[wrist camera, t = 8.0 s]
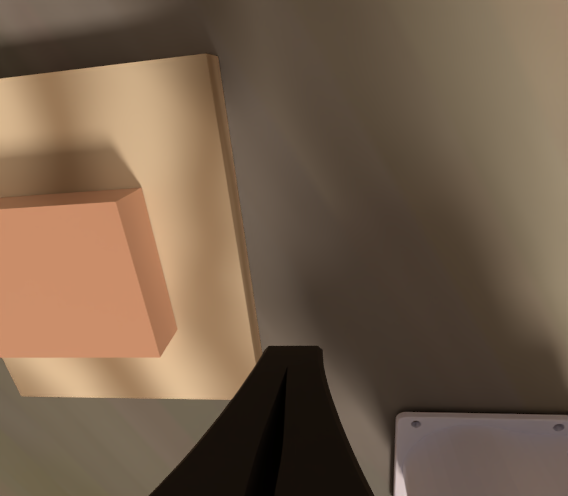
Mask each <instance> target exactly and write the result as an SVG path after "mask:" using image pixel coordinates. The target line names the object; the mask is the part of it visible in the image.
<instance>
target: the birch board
mask: <svg viewBox="0 0 568 496" xmlns="http://www.w3.org/2000/svg"><path fill="white" fill-rule="evenodd" d="M128 188H142V191H143V195H144V199H145V203H146V207H147V211H148V215H149V219H150V223H151V227H152V231H153V235H154V238H155V242H156V246H157V250H158V254H159V258H160V262H161V266H162V270H163V274H164V278H165V282H166V286H167V290H168V294H169V298H170V302H171V306H172V310H173V313H174V317H175V321H176V325H177V329H178V330H177V331H176V333H175V335H174V336H173V338H172V339H171V341H170V343H169V344H168V346H167V347H166V349H165V351H164V352H163V354H162V356H161V357H160V358H3V360H4V362H5V364H6V366H7V368H8V370H9V372H10V374H11V376H12V378H13V380H14V382H15V384H16V386H17V388H18V390H19V392H20V394H21V396H33V397H97V398H162V399H226V400H232V398H233V397H234V395H235V394H236V393H237V391H238V390H239V389H240V387H241V386H242V384H243V383H244V381H245V380H246V379H247V377H248V376H249V374H250V373H251V371H252V370H253V368H254V367H255V365H256V363H257V362H258V360H259V359H260V357H261V355H262V349H261V342H260V335H259V328H258V322H257V315H256V308H255V301H254V295H253V288H252V281H251V275H250V268H249V261H248V254H247V248H246V241H245V234H244V227H243V221H242V214H241V207H240V200H239V194H238V187H237V180H236V173H235V167H234V160H233V153H232V146H231V140H230V133H229V126H228V120H227V113H226V106H225V99H224V93H223V86H222V79H221V72H220V66H219V59H218V56H214V55H210V54H207V53H205V54H197V55H189V56H181V57H173V58H165V59H156V60H148V61H140V62H132V63H124V64H116V65H108V66H99V67H91V68H83V69H75V70H67V71H59V72H50V73H42V74H34V75H26V76H18V77H10V78H2V79H0V198H1V197H15V196H29V195H44V194H58V193H72V192H86V191H100V190H114V189H128Z"/></svg>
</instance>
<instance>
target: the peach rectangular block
mask: <svg viewBox="0 0 568 496" xmlns="http://www.w3.org/2000/svg"><path fill="white" fill-rule="evenodd" d="M177 330H178V329H177V325H176V321H175V317H174V313H173V310H172V306H171V302H170V298H169V294H168V290H167V286H166V282H165V278H164V274H163V270H162V266H161V262H160V258H159V254H158V250H157V246H156V242H155V238H154V235H153V231H152V227H151V223H150V219H149V215H148V211H147V207H146V203H145V199H144V195H143V191H142V188H128V189H114V190H100V191H86V192H72V193H58V194H44V195H29V196H15V197H1V198H0V358H160V357H161V356H162V354H163V352H164V351H165V349H166V347H167V346H168V344H169V343H170V341H171V339H172V338H173V336H174V335H175V333H176V331H177Z"/></svg>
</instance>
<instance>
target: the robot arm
mask: <svg viewBox="0 0 568 496" xmlns="http://www.w3.org/2000/svg"><path fill="white" fill-rule="evenodd" d="M413 421H416V422H413ZM149 496H374V494H373V492H372V490H371V488H370V486H369V484H368V482H367V480H366V478H365V476H364V474H363V472H362V470H361V468H360V466H359V464H358V461H357V459H356V457H355V455H354V453H353V450H352V448H351V446H350V443H349V441H348V439H347V436H346V434H345V432H344V429H343V427H342V424H341V422H340V419H339V416H338V413H337V411H336V408H335V405H334V402H333V399H332V396H331V393H330V390H329V387H328V383H327V379H326V375H325V371H324V365H323V350H322V349H321V348H320V347H319V346H268V347H267V348H266V349H265V351H264V352H263V354H262V355H261V357H260V359H259V360H258V362H257V363H256V365H255V367H254V368H253V370H252V371H251V373H250V374H249V376H248V377H247V379H246V380H245V381H244V383H243V384H242V386H241V387H240V389H239V390H238V391H237V393H236V394H235V395H234V397H233V398H232V400H231V401H230V402H229V404H228V405H227V406H226V408H225V409H224V410H223V412H222V413H221V414H220V416H219V417H218V418H217V419H216V421H215V422H214V423H213V424H212V426H211V427H210V428H209V429H208V430H207V432H206V433H205V434H204V435H203V437H202V438H201V439H200V440H199V442H198V443H197V444H196V445H195V446H194V448H193V449H192V450H191V451H190V452H189V453H188V454H187V455H186V457H185V458H184V459H183V460H182V461H181V462H180V463H179V464H178V466H177V467H176V468H175V469H174V470H173V471H172V472H171V473H170V474H169V475H168V476H167V477H166V478H165V479H164V480H163V482H162V483H161V484H160V485H159V486H158V487H157V488H156V489H155V490H154V491H153V492H152V493H151V494H150V495H149ZM393 496H568V415H542V414H490V413H437V412H401V413H399V414H398V415H397V416H396V425H395V456H394V487H393Z"/></svg>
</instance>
